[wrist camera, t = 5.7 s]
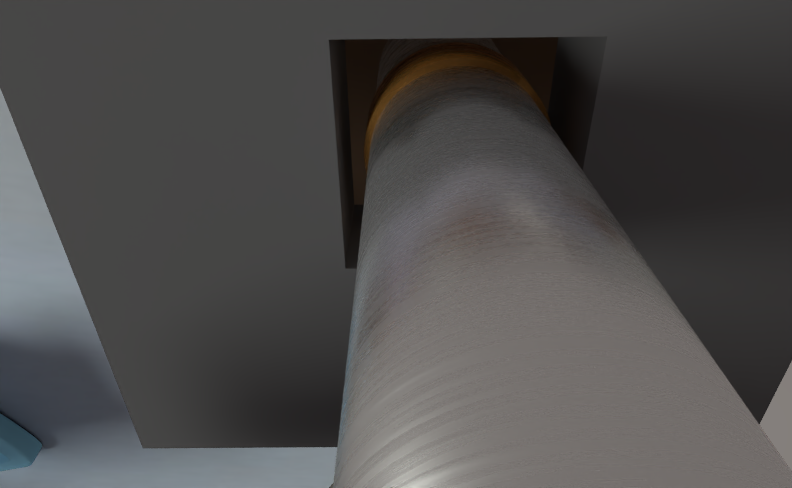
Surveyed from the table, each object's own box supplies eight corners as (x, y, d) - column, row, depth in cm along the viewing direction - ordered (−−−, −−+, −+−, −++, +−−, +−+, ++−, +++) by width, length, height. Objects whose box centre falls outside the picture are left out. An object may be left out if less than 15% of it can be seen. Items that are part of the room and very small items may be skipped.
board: (657, 292, 19) (676, 320, 18) (201, 296, 19) (187, 324, 18) (858, -367, 11) (921, -404, 9) (37, -354, 11) (-11, -388, 9)
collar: (698, 366, 15) (748, 444, 13) (179, 369, 15) (142, 448, 13) (995, -401, 7) (1242, -526, 5) (-51, -384, 7) (-233, -502, 5)
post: (497, 136, 14) (880, 1026, 3) (376, 137, 14) (298, 1023, 3) (508, 5, 13) (1507, 907, 1) (372, 6, 13) (160, 908, 1)
